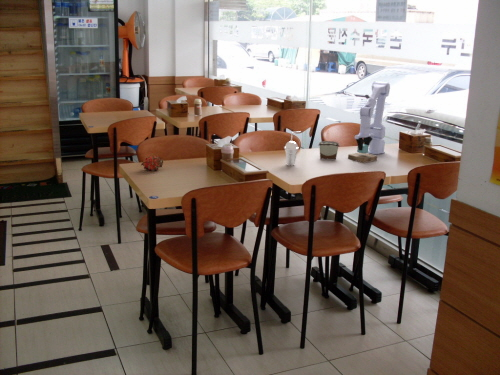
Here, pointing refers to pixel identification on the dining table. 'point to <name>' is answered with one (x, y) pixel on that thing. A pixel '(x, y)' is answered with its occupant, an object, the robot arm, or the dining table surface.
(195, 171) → the dining table surface
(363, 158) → the walnut block
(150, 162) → the dragon fruit
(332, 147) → the food container
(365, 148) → the teal cube
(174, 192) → the dining table surface
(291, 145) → the cup with straw
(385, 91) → the robot arm
